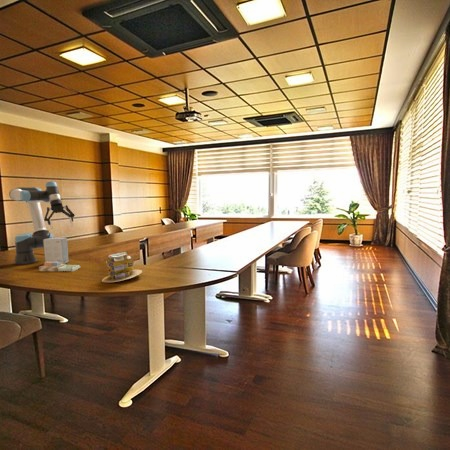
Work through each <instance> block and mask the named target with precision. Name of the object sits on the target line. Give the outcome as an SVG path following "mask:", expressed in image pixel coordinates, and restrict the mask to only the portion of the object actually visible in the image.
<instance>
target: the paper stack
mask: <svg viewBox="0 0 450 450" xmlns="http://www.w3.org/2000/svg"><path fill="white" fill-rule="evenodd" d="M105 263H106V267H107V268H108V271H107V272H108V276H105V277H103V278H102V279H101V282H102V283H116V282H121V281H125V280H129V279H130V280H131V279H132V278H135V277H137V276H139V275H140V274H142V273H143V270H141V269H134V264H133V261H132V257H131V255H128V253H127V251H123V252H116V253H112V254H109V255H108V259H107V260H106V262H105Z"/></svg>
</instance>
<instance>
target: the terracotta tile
mask: <svg viewBox="0 0 450 450" xmlns="http://www.w3.org/2000/svg"><path fill="white" fill-rule="evenodd" d="M52 262H54V261H48V262H45V261H44V263H43V265H44V266H51V263H52Z"/></svg>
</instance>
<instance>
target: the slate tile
mask: <svg viewBox="0 0 450 450" xmlns="http://www.w3.org/2000/svg"><path fill="white" fill-rule="evenodd" d="M60 265H61V262H57V261H55V262H52V263H51V266H60Z"/></svg>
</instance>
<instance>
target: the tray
mask: <svg viewBox="0 0 450 450" xmlns="http://www.w3.org/2000/svg"><path fill="white" fill-rule="evenodd" d="M79 269H81V265H80V264H66V265H65V266H62V267H59V268H58V271H57V272H63V271H64V273H65V271H66V272H68V273H69V272H71V273H72V272H75V271H77V270H79Z"/></svg>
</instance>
